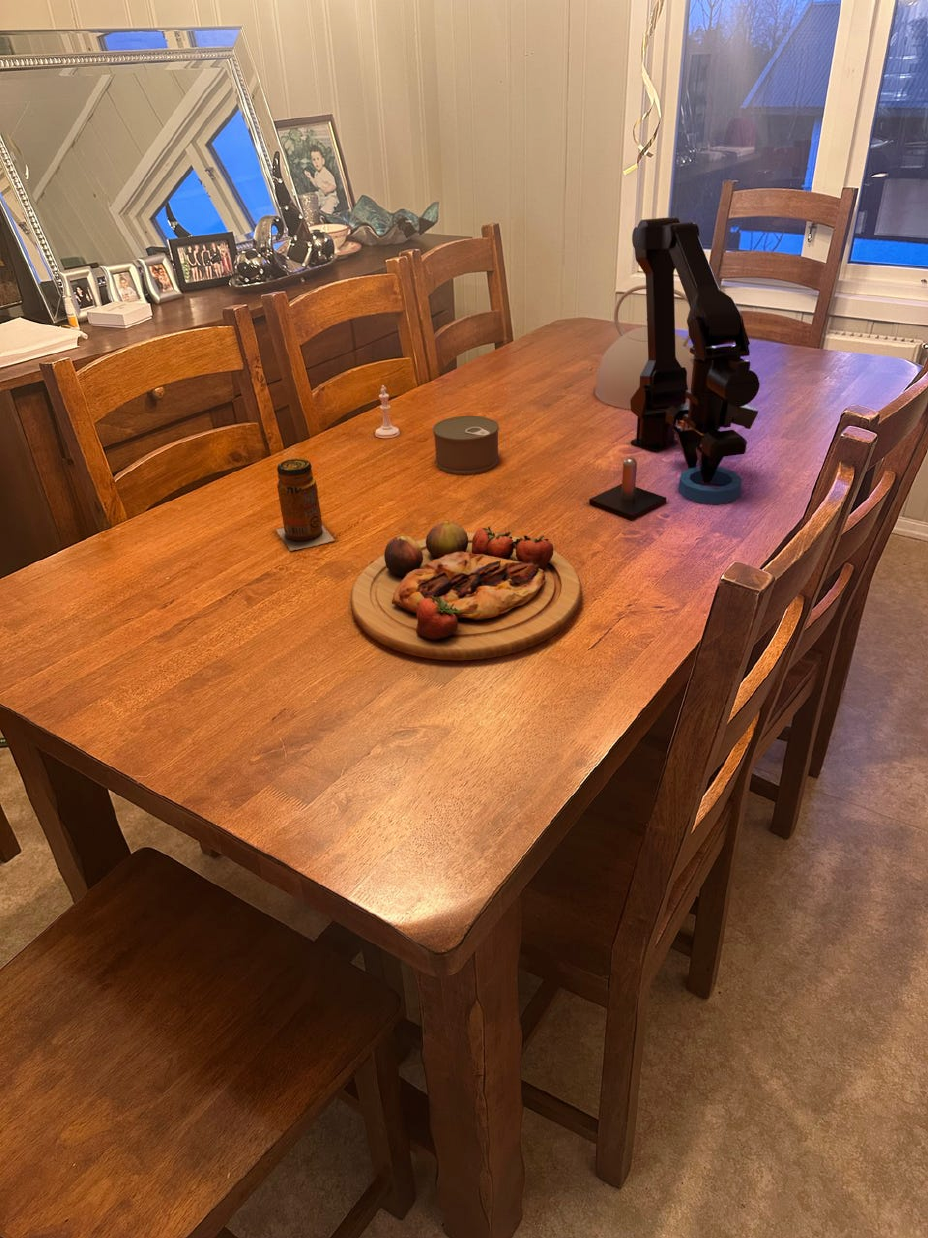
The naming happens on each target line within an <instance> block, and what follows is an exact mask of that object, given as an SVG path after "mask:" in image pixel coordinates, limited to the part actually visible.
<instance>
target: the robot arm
mask: <svg viewBox="0 0 928 1238" xmlns="http://www.w3.org/2000/svg"><path fill="white" fill-rule="evenodd" d="M631 243H632V246H633V248H634V256H635V257H634V258H635V261H636V262H637V265H638V266H639V267H640V269H641V270H642V272H643V273H644V276H645V285H646V289H645V303H646V327H647V334H648V361H647V363H646V365H645V367H644V369H643V371H642V373H641V375H640V387H639V388H638V389H637V391H636V392H635V394H634V395H633V397H632V398H631V400H630V405H631V410H630V412H631V413H632V414H634V415H635V416H636V417H637V422H636V437H635V438H634V439H632V440H631V441H630V444H631V445H634V446H636V447H639V448H643V449H645V450H649V451H652V452H657V453H658V452H662V451H663V450H665V449H667V448H670V447H672V446H674V445H676V444H678V445H679V449H680V450H681V453H682V455H683V456H682V457H683V458H684V461H685V464H686V466H687V470H688V469H690V468H696V467H697V465H698V467H700V471H701V476H702V479H703V483H702V484H706V485H707V484H711V483H710V482H711V480H712V478H713V476H714V474H715V472H716V470H717V468H718V467H719V465H720V464H721V462H722V461H723V459H724V457H733V456H741V455H745V454H746V451H747V444H748V441H747V440H746V439H745V438H744V437H743V436H742V435H741V434H739V433H738V432H736V431H735V430H734V429H727V428H731V426H732V425H736V426H741V427H744V428H745V429H746V430H751V428H752V427H753V425H754V422H755V420H756V418H757V416H758V415H759V414H758V413H759V410H758V409H756V408H755V407H753V406H752V405H751V404H750V403H751V402H752V401H753V400H754V399H755V398H756V396H757V394H758V393H759V389H760V386H761V385H760V380H759V376H758V375H757V373H756V372H755V371H754V370H751V369H750V368H751V361H750V360H748V359H746V358H745V359H744V358H741V357H749V356H750V354H751V352H750V347H749V346H750V345H751V342H750V339H749V337H748V333H747V330H746V327H745V322H744V319H743V315H742V313H741V312H740V310H739V308H738V306H737V304H736V303H735V301H734V299H733V298H732V297H731V296H729V295H728V294H727V293H725V292H724V291H722V290H721V289H720V287H719V285H718V283H717V279H716V278H715V275H714V273H713V270H712V267H711V265H710V262H709V260H708V258H707V255H706V252H705V250H704V247H703V245H702V242H701V240H700V229H699V226H698V225H697V223H695V222H692V221H687V222H686V221H685V222H680V220H679V218H678V217H677V216H668V217H667V216H666V217H657V218H656V217H655V218H646V219H641V220H640V221H639V222H638V225H637V226H636V227H634V228H633V230H632V235H631ZM675 270H676V273H677V276H678V278H679V281H680V283H681V285H682V289H683V291H684V294H685V295H686V297H687V300H688V302H689V304H688V305H689V311H688V314H687V317H686V324H687V329H688V330H687V331H688V334H689V336H690V341H691V343H692V347H691V348H690V353H692V354H693V355H694V362H693V372H692V382H691V390H688V386H687V370H686V368H685V367H681V365H680V364H679V362H678V361H677V359H676V350H675V332H676V314H675V313H676V309H675V308H676V307H675V294H674V289H675ZM733 344H734V345H733ZM687 398H688V399H689V400H690V402H689V403H686V400H687ZM721 428H723V429H725V430H720V429H721ZM675 438H676V439H675Z"/></svg>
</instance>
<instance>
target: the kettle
mask: <svg viewBox="0 0 928 1238" xmlns="http://www.w3.org/2000/svg"><path fill="white" fill-rule="evenodd" d="M642 290H646V284H642V285H637V286H633V287H632V288H630V289H627V291H625V292H623V294H622V295H621V296H620V298H618V301H617V303H616V305H615V309H614V315H613V319H614V321H613V322H614V325H615V328H616V330H617V332H618V334H619V336H620V337H619V338H617V339H616V340H615V341H614V342H613V343H611V345H610V346H609V348H608V349H607V350H606V352H605V353H604V355H603V356H602V358H601V361H600V363H599V366H598V369H597V375H596V382H595V396H596V398H597V399H598V400H599V401H600V402H602V403H604V404H606V405H609V406H612V407H615V408H618V409H624V410H629V411H631V405H630V400H631V398H632V397H633V395H634V394H635V392H636V391H637V389H638V388H639V387H640V375H641V373H642V371H643V369H644V367H645V365H646V363H647V361H648V334H647V326H640V327H637V328H633V329H632V330H629V331H628V332H626V333H624V332H623V329H622V327H621V325H620V322H619V311H620V308H621V305H622V303H623V301H624V300H625V299H626V298H627V297H628V296H629V295H631V294H633V293H634V292H637V291H642ZM674 295H676V296H679V297H680V298H682V299H683V300H684V301H685V302H686V303H687V305H689V302H688V300H687V297H686V294H685V292H684V293H683V292H682V291H681V290H678V289H676V288H674ZM690 341H691V339H690V336H689V333H688V334H687V336H686V338H684V337H683V336H682V335H681V334H679V333H678V332H676V331H675V350H676V359H677V361H678V362H679V364H680V365H681V367H685V368H686V370H687V386H688V390H691V382H692V372H693V362H694V355H693V354H692V353H690V348H691V347H693V345H691V343H689V342H690ZM689 402H690V400H689V399H688V398H687V400H686V403H689Z"/></svg>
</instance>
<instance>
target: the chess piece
mask: <svg viewBox="0 0 928 1238" xmlns="http://www.w3.org/2000/svg"><path fill="white" fill-rule="evenodd" d="M379 391H380V394H379V395H378V398H379V401H380V403H381V405H380V406H379V409H380V410H382V424H381V426H380V427H378V428H377V429H375V431H374V432H375V437H377V438H379V439H392V438H393V439H394V438H395V437H397V436H399V435H400V433H401V431H400V429H399V428H398V427H396V426H393V424H391V420H390V415H389V411H388V410H389V409H391V405H390V404H388V403H389V398H390V395H389V394H388V393H386V391H387V387H386V386H385V384H382V385H381V389H379Z"/></svg>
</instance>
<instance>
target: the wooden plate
mask: <svg viewBox="0 0 928 1238" xmlns="http://www.w3.org/2000/svg"><path fill="white" fill-rule="evenodd" d="M491 528H492V527H491V526H487V527H481V528H479V529H478V530H476V531H475V532H467V531H466V530H465V529H464V527H462V526H461V525H460V524H458V523H456V522H454V521H450V520H447V519H445V520H444V521H442V522H440V523H437V524H436V525H435V526H434V527H432V528H431V529H430V531H429V532H428V533H427V535H426V538H422V539H418V540H415V539H413V538H412V537H411V536H408V535H403V534H400V535H397V536H395V537H393V538H392V539H391V540H390V541H388V542H387V544H386V545H385V548H384V554H382V555H381V556H379V557H378V558H376V559H375V560H374V561H372V562H371V563H370V564H369V565H368V566H366V568H364V569H363V571H362V572H361V573H360V574H359V575H358V577H357V578H356V580H355V581H354V583H353V585H352V587H351V592H350V601H349V602H350V609H351V613H352V616H353V617H354V620H355V621H356V623H357V624H358V626H359V627H360V628H361V629H362V630H363V631H364V632H365V633H366V634H367V635H368V636H369V637H371V638H372V639H374V640H375V641H377V642H378V643H380V644H381V645H384V646H386V647H388V648H390V649H393V650H394V651H397V652H401V653H404V654H407V655H411V656H414V657H415V656H416V657H420V658H426V659H433V660H443V661H471V660H482V659H490V658H497V657H502V656H507V655H510V654H513V653H514V654H515V653H516V652H517V653H518V652H520V651H524V650H526V649H529V648H532V647H534V646H536V645H538V644H541V643H543V642H545V641H546V640H549V639H550V638H552V637H553V636H554V635H556V634H557V633H559V632H560V631H561V630H562V629H564V627H566V626H567V624H569V623H570V621H571V620H572V619H573V617H574V616H575V615H576V613H577V611H578V609H579V607H580V604H581V602H582V597H583V589H582V587H583V586H582V582H581V579H580V577H579V576H580V575H579V574H578V573H577V571H576V569H575V568H574V566H573V565H572V564H571V563H570V562H569V561H568V560H567V559H566V558H565V557H563V556H562V555H561V554H559V552H556V551H555V550H554V549H555V548H554V545H553V544H552V543H551V542H550V539H549V538H545V535H541V536H539V538H536V537H534V538H530V537H529V536H528V535H526V534H523V535H522V536H523V537H518V536H512V535H511V533H512V532H511V531H507V532H504V533H495V532H493V531H492V530H491Z"/></svg>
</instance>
